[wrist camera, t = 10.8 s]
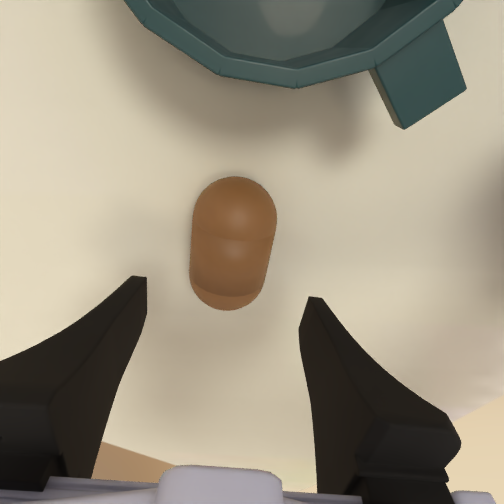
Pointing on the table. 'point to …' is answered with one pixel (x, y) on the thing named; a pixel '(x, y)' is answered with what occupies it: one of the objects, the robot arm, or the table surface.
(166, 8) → the pot
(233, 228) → the brown cylinder
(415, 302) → the table surface
